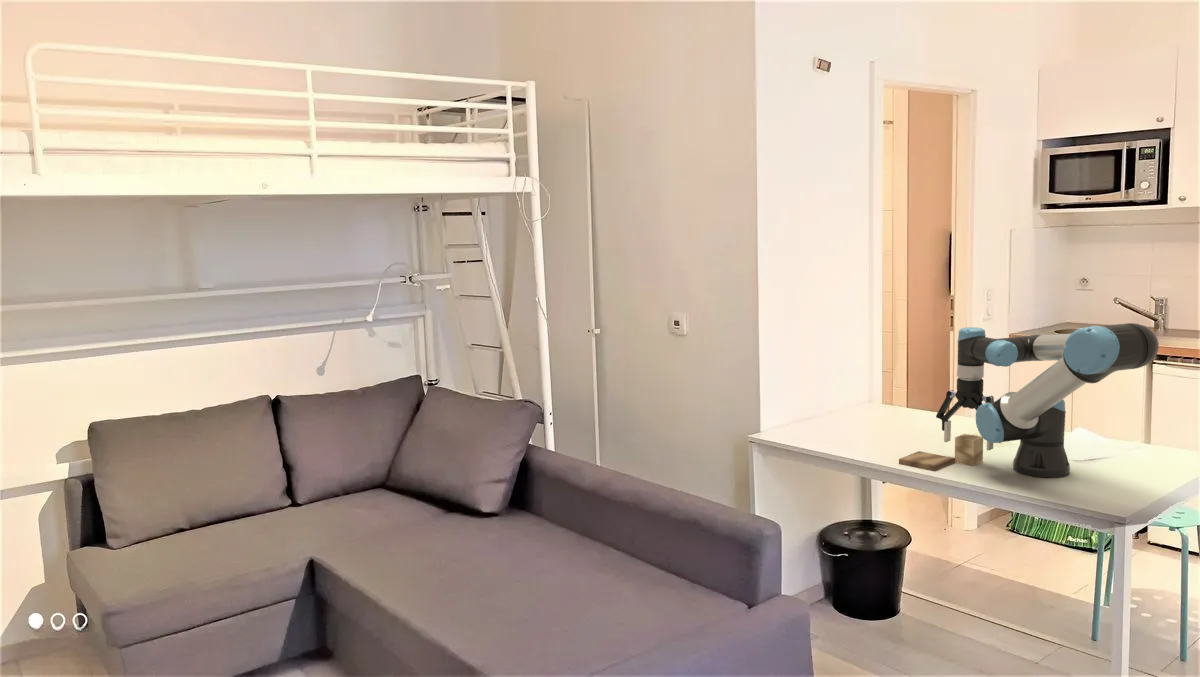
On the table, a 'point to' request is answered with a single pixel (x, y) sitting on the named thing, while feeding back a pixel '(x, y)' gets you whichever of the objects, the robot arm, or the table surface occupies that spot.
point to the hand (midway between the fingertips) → (968, 445)
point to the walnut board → (927, 461)
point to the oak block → (968, 449)
